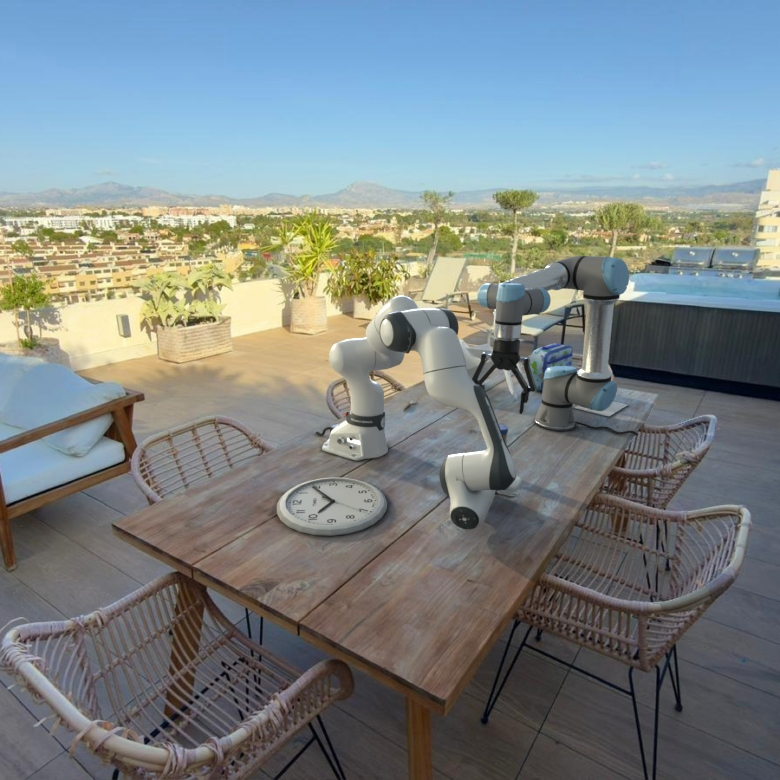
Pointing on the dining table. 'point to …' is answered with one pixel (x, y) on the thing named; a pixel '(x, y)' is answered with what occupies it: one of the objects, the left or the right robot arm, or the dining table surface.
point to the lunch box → (548, 360)
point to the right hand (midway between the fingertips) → (500, 409)
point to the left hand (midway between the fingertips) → (489, 468)
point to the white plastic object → (474, 360)
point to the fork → (411, 403)
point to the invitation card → (609, 411)
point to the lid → (503, 429)
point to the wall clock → (331, 506)
